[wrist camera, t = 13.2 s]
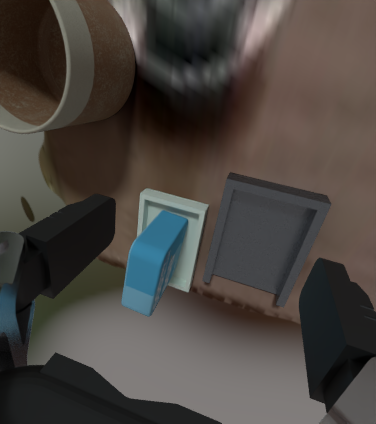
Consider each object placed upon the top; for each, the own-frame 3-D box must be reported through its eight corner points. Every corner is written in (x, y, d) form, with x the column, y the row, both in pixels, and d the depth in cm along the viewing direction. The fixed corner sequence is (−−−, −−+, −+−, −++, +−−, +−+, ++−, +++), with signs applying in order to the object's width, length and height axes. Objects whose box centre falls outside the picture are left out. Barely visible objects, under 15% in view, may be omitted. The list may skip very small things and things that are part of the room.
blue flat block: (175, 270, 47) (148, 322, 37) (152, 262, 48) (119, 310, 38) (190, 215, 42) (163, 257, 31) (164, 206, 42) (129, 244, 32)
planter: (133, -14, 31) (49, -77, 19) (141, 123, 38) (81, 139, 26) (27, -6, 35) (-98, -55, 23) (51, 117, 42) (-36, 129, 30)
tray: (208, 204, 41) (205, 211, 39) (191, 283, 48) (188, 292, 46) (146, 188, 43) (140, 193, 40) (139, 266, 50) (134, 274, 48)
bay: (326, 195, 35) (331, 204, 32) (282, 294, 44) (283, 307, 41) (230, 172, 38) (226, 178, 35) (206, 270, 46) (202, 280, 43)
